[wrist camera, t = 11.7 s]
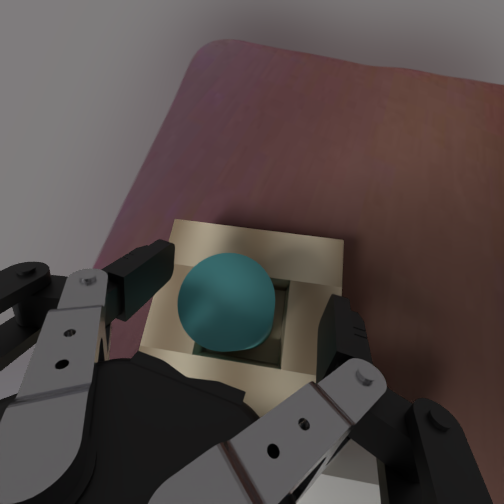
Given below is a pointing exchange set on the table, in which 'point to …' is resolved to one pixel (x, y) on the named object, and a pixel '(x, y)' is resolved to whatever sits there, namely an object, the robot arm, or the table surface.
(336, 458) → the backstop wall
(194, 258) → the socket block
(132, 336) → the table surface
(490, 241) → the table surface
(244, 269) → the teal rounded cylinder
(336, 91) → the table surface
